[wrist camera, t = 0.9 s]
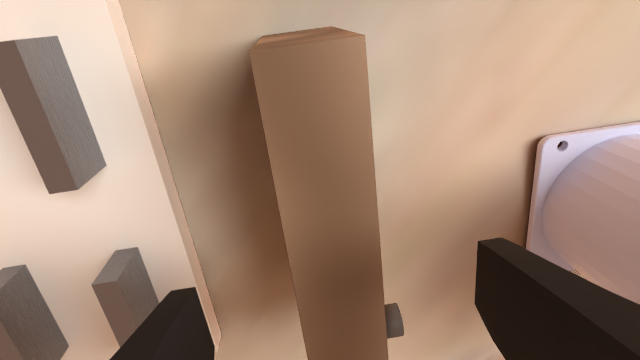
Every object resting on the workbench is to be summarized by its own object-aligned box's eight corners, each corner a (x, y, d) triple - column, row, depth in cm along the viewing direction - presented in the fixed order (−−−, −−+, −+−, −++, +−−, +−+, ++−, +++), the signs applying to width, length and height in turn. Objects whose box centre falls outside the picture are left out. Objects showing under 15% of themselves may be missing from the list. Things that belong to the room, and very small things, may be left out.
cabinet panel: (108, -32, 14) (93, -36, 13) (221, 334, 21) (218, 352, 20) (-175, 5, 14) (-215, 4, 13) (39, 364, 21) (25, 383, 20)
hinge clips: (57, 35, 14) (13, 39, 11) (169, 329, 19) (154, 370, 17) (-116, 59, 13) (-193, 68, 11) (48, 349, 19) (18, 392, 17)
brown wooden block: (350, 23, 16) (397, 30, 9) (371, 264, 20) (411, 377, 14) (262, 35, 15) (248, 51, 9) (304, 274, 20) (314, 394, 14)
